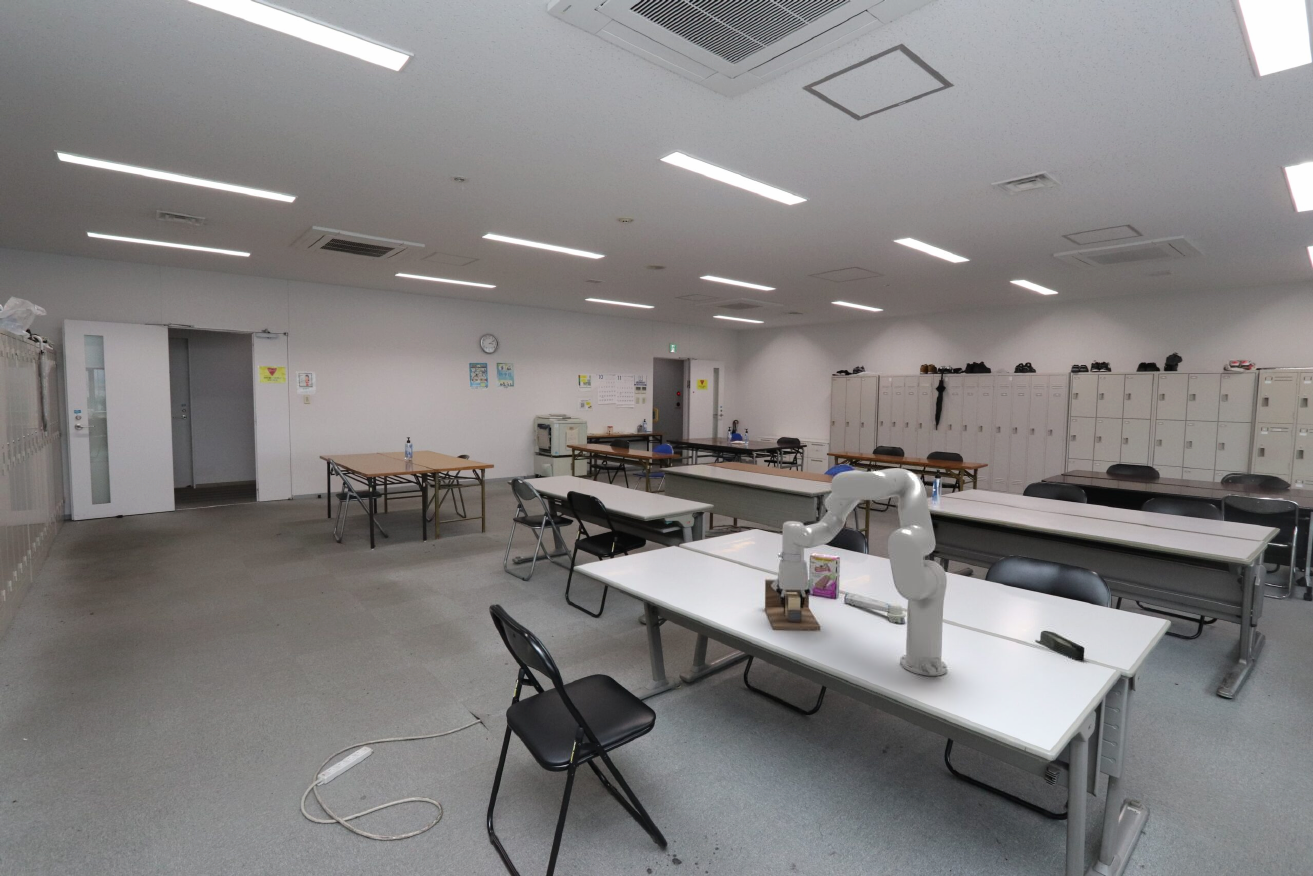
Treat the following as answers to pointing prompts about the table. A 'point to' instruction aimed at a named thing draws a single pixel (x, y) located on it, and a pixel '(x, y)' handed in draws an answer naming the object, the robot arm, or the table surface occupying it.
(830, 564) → the candy bar box
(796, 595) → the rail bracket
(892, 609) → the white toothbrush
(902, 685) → the table surface
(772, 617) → the wooden bookend
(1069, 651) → the dark green stapler
